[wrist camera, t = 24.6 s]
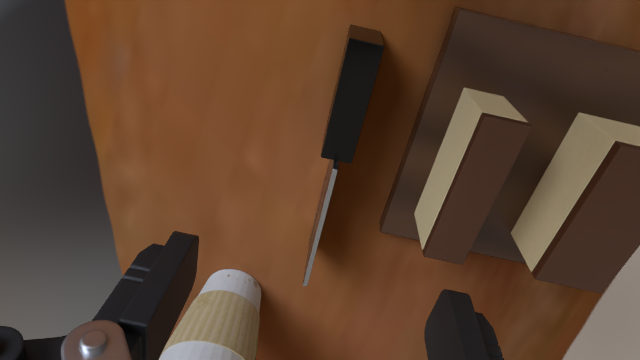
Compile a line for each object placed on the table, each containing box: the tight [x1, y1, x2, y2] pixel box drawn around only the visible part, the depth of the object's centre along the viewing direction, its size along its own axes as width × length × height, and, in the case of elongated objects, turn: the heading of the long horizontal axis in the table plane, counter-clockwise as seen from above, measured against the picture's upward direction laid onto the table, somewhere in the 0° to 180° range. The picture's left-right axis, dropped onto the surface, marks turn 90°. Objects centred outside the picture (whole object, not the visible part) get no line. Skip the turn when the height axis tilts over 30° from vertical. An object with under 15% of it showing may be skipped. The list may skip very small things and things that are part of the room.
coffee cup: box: [159, 269, 261, 360], centre depth 40 cm, size 10×10×15 cm
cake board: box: [380, 7, 640, 264], centre depth 35 cm, size 20×18×2 cm
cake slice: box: [414, 88, 532, 265], centre depth 32 cm, size 12×3×6 cm, turn 168°
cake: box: [511, 113, 640, 293], centre depth 32 cm, size 12×6×6 cm, turn 168°
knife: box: [303, 25, 384, 286], centre depth 34 cm, size 21×2×6 cm, turn 168°
